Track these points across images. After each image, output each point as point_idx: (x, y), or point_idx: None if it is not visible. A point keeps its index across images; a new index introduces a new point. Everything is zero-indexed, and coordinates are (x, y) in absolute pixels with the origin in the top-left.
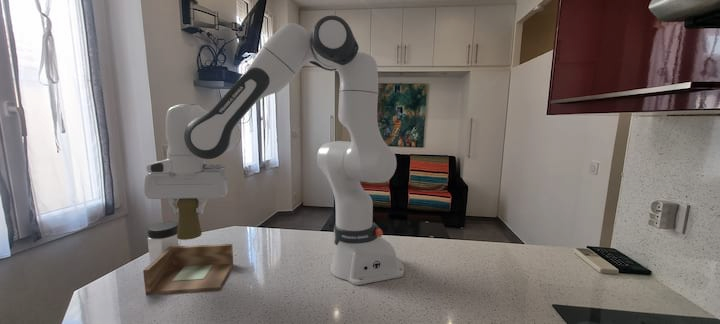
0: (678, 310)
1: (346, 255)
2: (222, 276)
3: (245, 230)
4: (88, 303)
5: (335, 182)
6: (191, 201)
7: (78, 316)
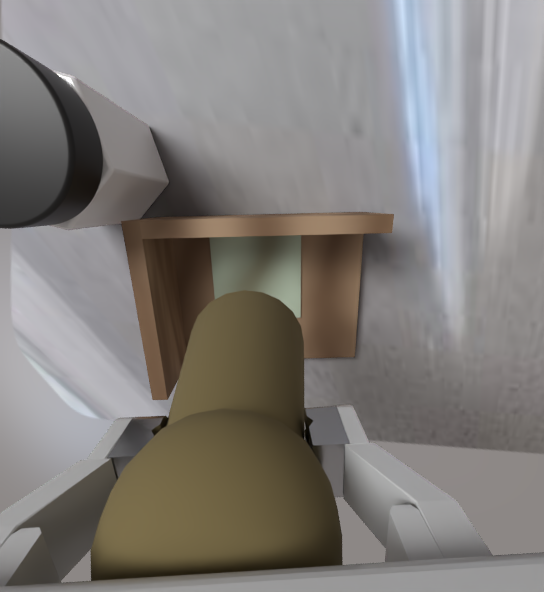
0: None
1: None
2: (350, 306)
3: None
4: (69, 377)
5: None
6: None
7: (91, 416)
